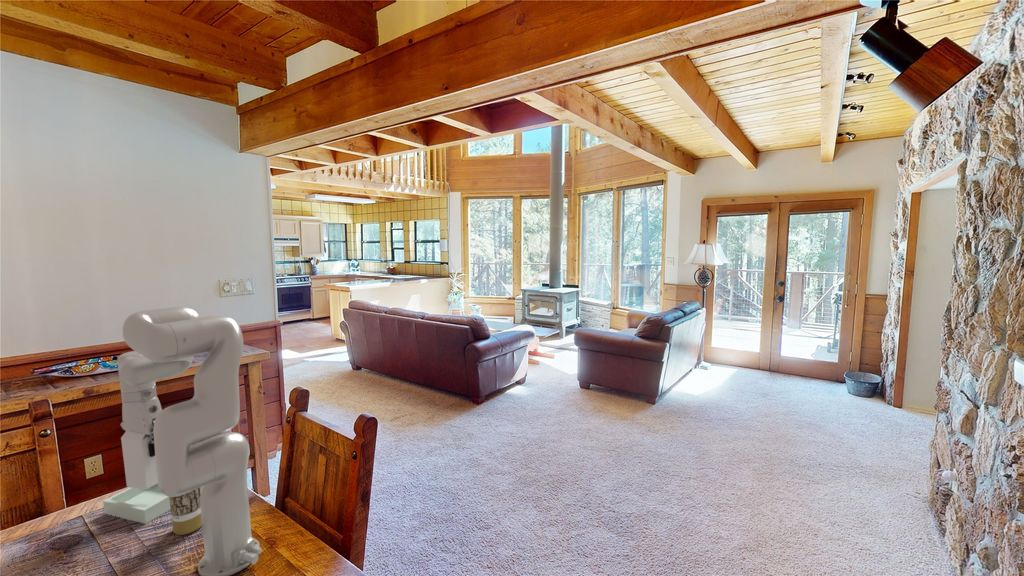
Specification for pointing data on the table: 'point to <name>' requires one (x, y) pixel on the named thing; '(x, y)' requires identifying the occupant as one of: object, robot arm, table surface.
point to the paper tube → (186, 512)
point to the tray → (138, 504)
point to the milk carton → (138, 461)
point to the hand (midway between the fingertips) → (145, 452)
